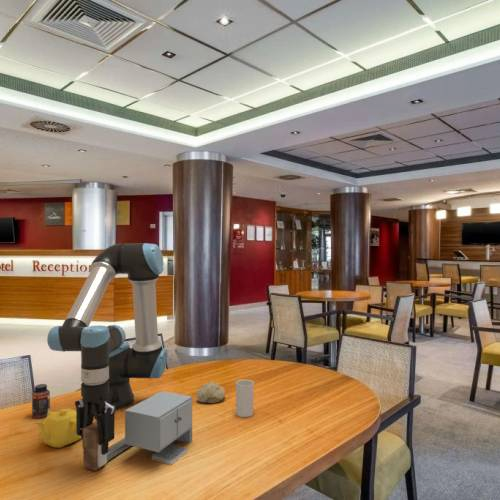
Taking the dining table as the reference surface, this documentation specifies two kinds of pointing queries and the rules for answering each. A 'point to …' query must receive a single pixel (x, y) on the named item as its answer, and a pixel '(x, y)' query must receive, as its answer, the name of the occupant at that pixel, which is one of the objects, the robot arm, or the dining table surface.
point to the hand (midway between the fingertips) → (95, 462)
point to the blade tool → (91, 447)
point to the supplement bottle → (40, 401)
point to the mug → (244, 398)
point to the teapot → (59, 428)
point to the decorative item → (211, 393)
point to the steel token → (169, 454)
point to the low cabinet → (159, 421)
